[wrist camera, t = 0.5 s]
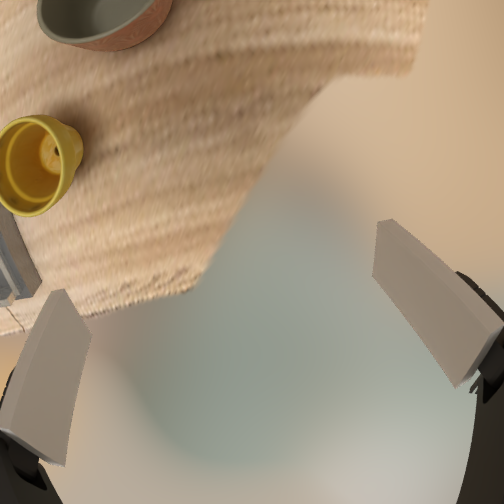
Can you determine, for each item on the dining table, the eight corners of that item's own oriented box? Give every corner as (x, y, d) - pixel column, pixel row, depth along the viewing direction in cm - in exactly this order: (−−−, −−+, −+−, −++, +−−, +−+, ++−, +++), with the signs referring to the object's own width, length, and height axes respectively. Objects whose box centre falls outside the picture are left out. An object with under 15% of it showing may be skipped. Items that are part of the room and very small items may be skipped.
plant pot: (54, 95, 24) (10, 99, 16) (112, 135, 29) (82, 150, 20) (20, 163, 27) (-22, 187, 19) (73, 202, 32) (41, 236, 23)
